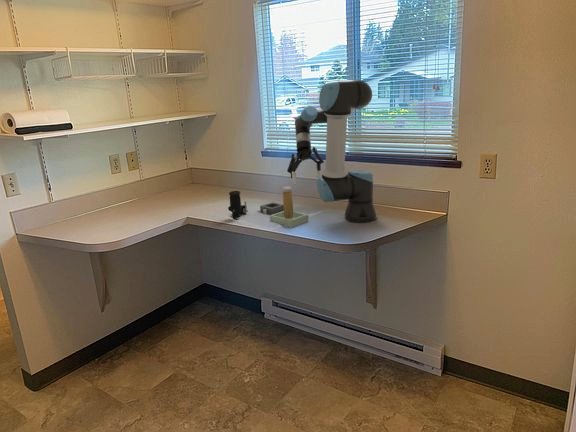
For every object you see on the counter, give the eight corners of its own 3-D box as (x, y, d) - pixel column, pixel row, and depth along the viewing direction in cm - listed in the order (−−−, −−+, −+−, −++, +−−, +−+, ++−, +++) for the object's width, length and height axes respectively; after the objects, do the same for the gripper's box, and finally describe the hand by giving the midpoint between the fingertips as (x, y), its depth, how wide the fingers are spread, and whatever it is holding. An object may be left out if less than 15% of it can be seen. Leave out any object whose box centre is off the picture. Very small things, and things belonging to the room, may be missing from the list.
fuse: (295, 219, 214) (293, 187, 210) (289, 221, 211) (287, 189, 207) (289, 217, 218) (287, 186, 213) (282, 220, 215) (280, 188, 210)
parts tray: (308, 221, 214) (307, 214, 213) (290, 227, 206) (290, 220, 205) (287, 216, 224) (287, 209, 223) (270, 222, 216) (269, 215, 215)
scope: (246, 189, 225) (240, 194, 216) (248, 215, 229) (242, 221, 220) (230, 189, 227) (224, 194, 217) (233, 215, 231) (226, 220, 221)
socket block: (289, 212, 231) (288, 204, 230) (272, 217, 223) (271, 209, 222) (273, 208, 239) (272, 201, 238) (256, 213, 231) (256, 206, 230)
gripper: (328, 139, 228) (331, 176, 221) (287, 153, 240) (289, 188, 233) (321, 132, 222) (324, 171, 215) (279, 147, 234) (281, 184, 227)
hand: (306, 180), depth 224 cm, fingers open, 13 cm apart
